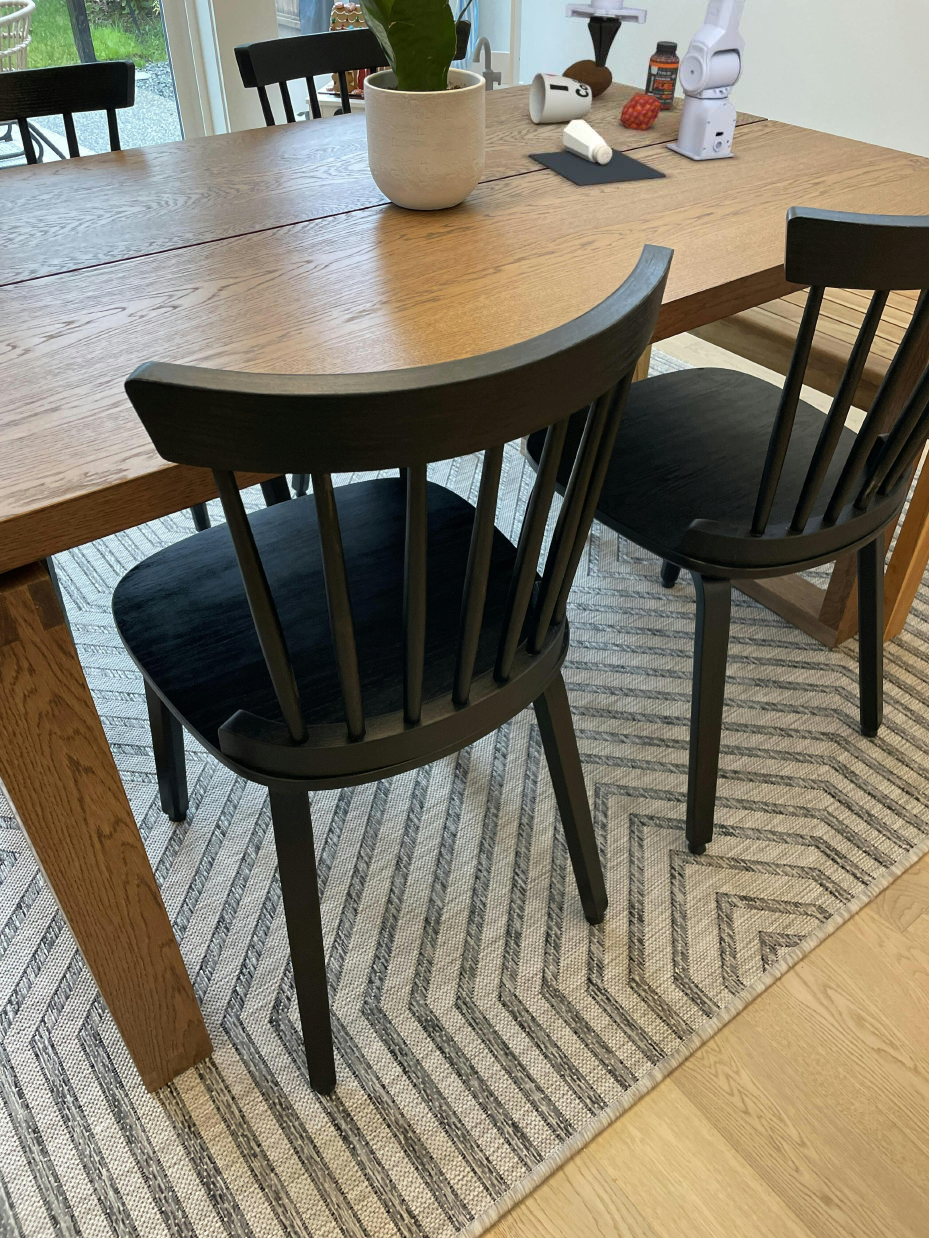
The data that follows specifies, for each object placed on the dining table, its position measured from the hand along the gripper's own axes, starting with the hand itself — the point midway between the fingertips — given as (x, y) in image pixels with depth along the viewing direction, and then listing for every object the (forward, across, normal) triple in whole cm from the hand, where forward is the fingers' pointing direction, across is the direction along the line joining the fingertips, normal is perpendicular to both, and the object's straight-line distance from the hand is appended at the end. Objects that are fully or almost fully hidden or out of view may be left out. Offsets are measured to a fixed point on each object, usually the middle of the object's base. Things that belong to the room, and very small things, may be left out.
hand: (600, 66), depth 171 cm
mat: (+9, +9, -31) cm, 33 cm away
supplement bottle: (+9, +8, +18) cm, 22 cm away
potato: (+9, -8, +19) cm, 23 cm away
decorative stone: (+9, +9, -1) cm, 13 cm away
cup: (+6, -2, -1) cm, 6 cm away
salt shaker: (+7, +3, -23) cm, 24 cm away
